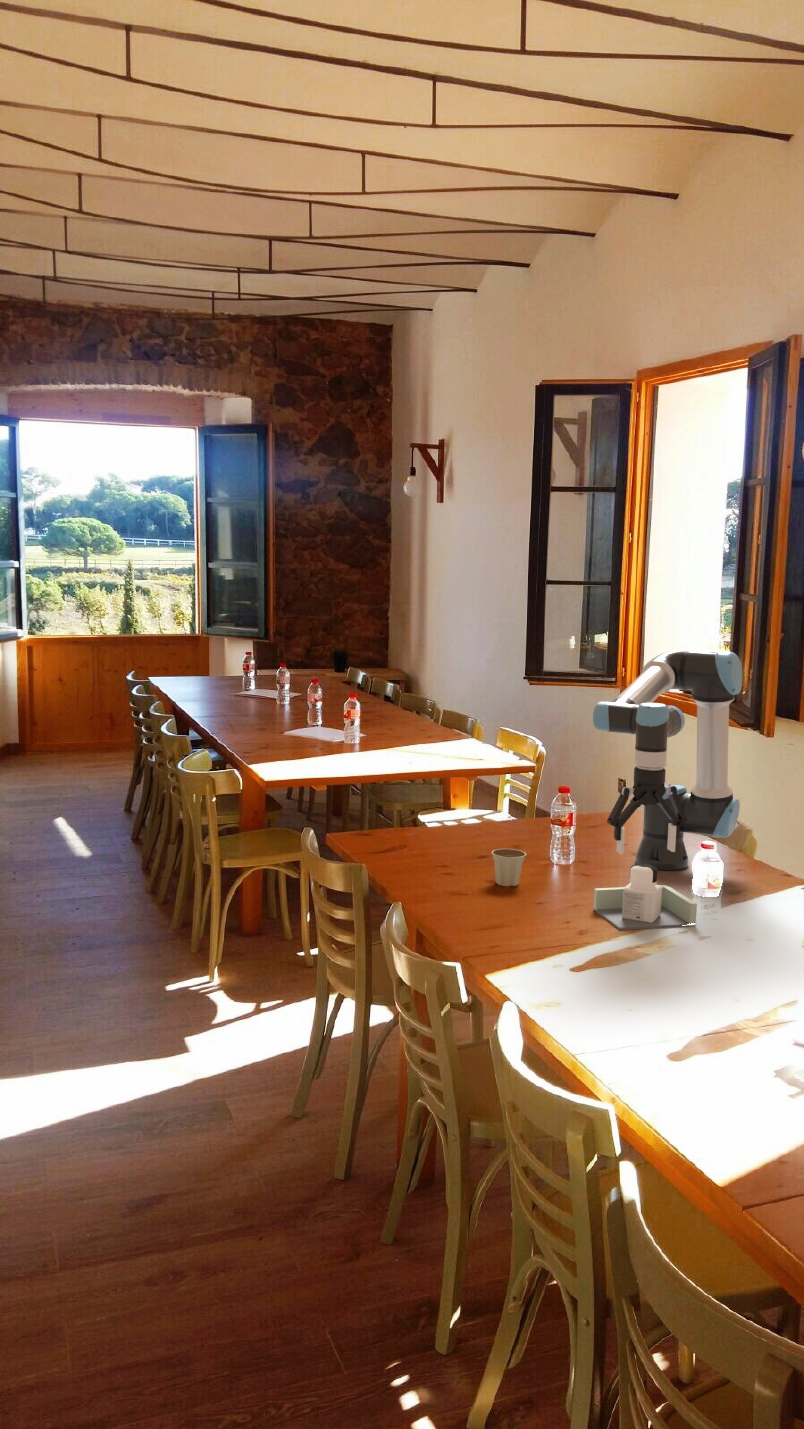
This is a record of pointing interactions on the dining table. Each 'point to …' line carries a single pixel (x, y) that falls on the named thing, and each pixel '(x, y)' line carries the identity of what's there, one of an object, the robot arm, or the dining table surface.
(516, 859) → the flower pot
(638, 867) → the container
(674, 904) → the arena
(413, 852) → the dining table surface
